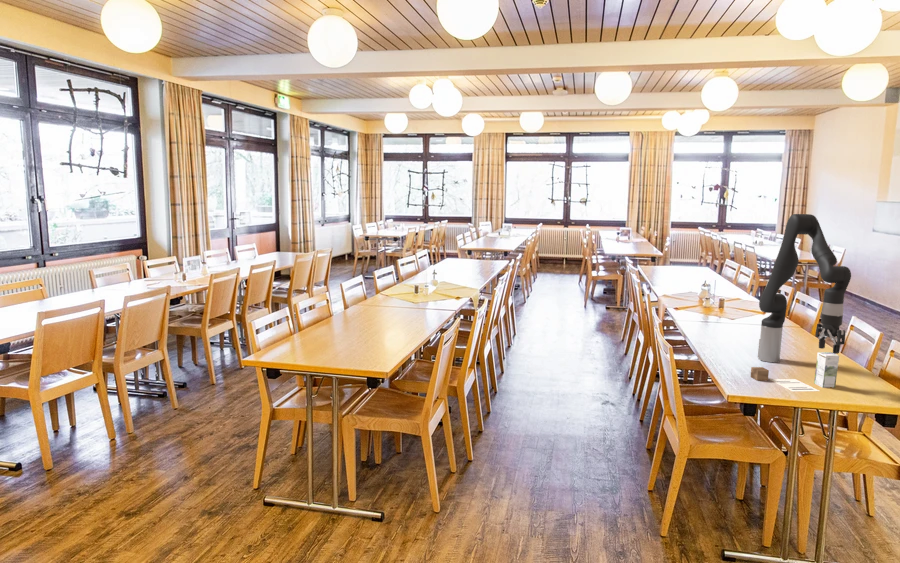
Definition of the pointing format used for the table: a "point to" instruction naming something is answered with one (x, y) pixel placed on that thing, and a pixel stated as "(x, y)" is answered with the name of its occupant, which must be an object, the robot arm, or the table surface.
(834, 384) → the syrup box
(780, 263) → the robot arm
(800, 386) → the letter
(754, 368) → the walnut block
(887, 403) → the table surface
